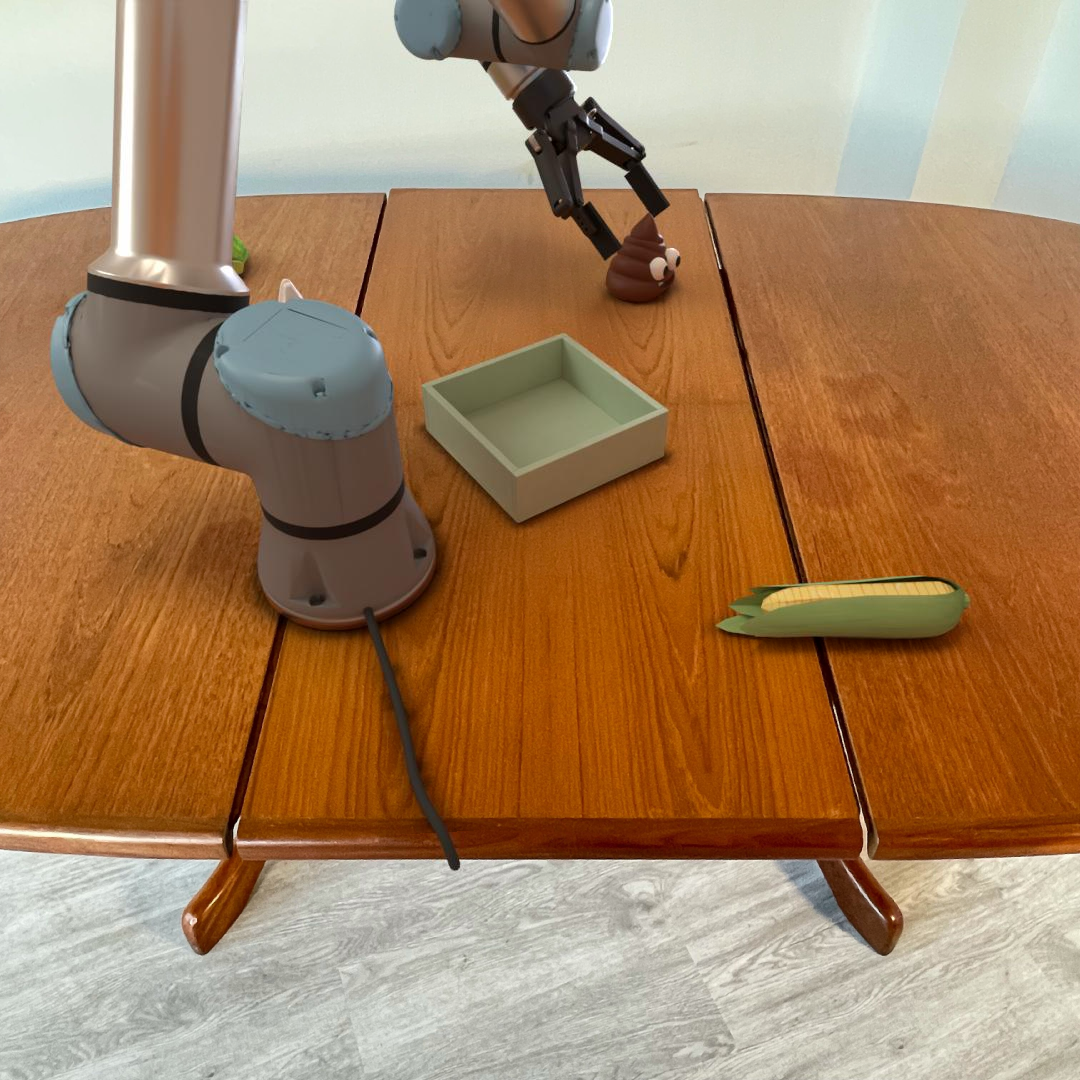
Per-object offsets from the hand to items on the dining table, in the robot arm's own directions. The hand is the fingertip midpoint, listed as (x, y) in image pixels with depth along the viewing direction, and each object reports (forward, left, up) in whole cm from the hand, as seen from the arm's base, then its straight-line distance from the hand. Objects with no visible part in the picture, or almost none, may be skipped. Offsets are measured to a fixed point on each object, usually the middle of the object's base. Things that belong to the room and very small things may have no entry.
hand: (638, 232), depth 109 cm
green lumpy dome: (+36, +45, -7) cm, 58 cm away
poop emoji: (-1, 0, -7) cm, 7 cm away
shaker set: (+4, +45, -7) cm, 46 cm away
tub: (-21, +29, -7) cm, 36 cm away
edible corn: (-55, +23, -7) cm, 60 cm away
